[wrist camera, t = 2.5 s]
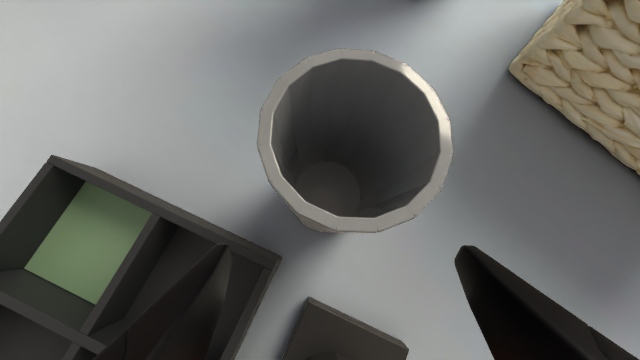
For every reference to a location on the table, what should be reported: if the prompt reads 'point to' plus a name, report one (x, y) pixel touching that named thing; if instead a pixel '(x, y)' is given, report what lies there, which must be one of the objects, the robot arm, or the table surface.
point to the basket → (590, 70)
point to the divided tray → (108, 265)
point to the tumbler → (354, 141)
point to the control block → (339, 337)
